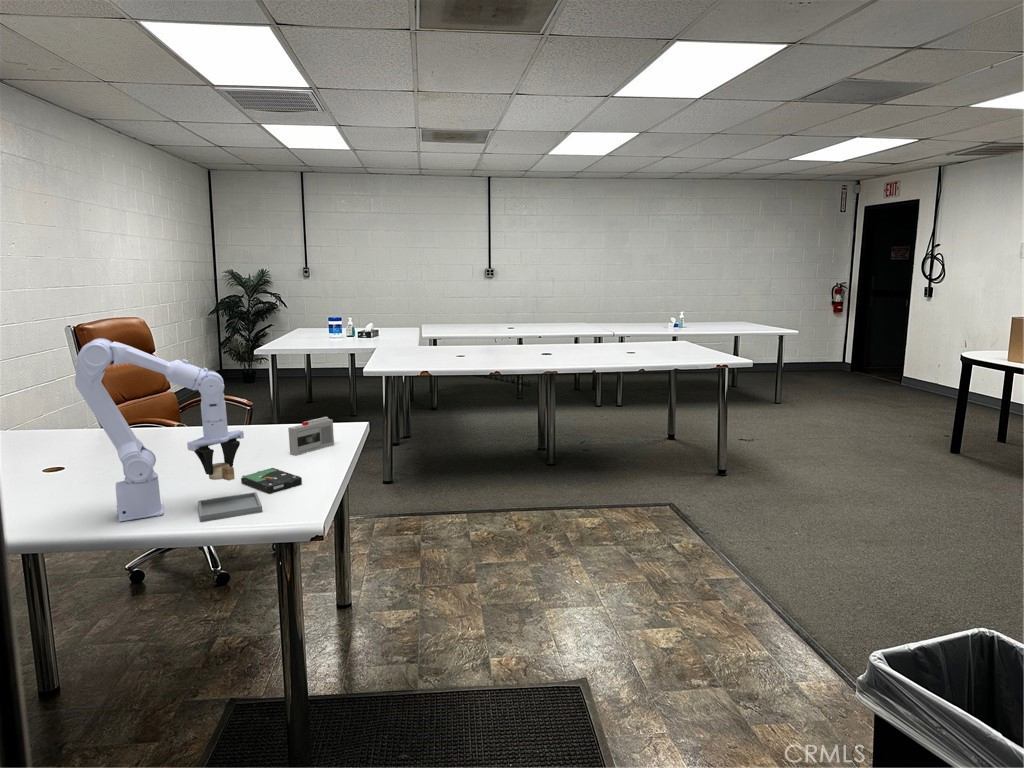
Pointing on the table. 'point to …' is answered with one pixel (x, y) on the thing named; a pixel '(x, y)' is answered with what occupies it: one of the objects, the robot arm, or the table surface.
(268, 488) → the disk drive
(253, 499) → the tray
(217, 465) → the tabbed cylinder
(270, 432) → the table surface
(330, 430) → the cassette player
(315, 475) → the table surface
